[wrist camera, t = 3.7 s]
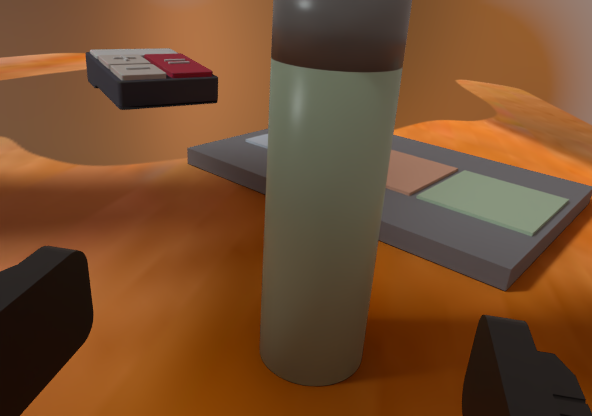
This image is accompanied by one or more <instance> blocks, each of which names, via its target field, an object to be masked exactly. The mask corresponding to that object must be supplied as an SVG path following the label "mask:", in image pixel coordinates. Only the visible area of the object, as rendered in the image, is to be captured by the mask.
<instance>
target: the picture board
mask: <svg viewBox="0 0 592 416" xmlns="http://www.w3.org/2000/svg"><path fill="white" fill-rule="evenodd" d="M187 150H188V164H191V165H193V166H196V167H198V168H201V169H203V170H205V171H208V172H210V173H213V174H215V175H218V176H220V177H223V178H225V179H228V180H230V181H233V182H235V183H238V184H240V185H243V186H245V187H248V188H250V189H253V190H255V191H258V192H260V193H263V194H265V195H266V175H267V150H268V129H265V130H261V131H257V132H253V133H248V134H244V135H240V136H236V137H231V138H227V139H223V140H219V141H215V142H210V143H206V144H202V145H198V146H194V147H190V148H188V149H187ZM591 196H592V186H588V185H584V184H580V183H576V182H573V181H569V180H565V179H561V178H557V177H553V176H550V175H546V174H542V173H538V172H534V171H530V170H526V169H523V168H519V167H515V166H511V165H507V164H503V163H500V162H496V161H492V160H488V159H484V158H480V157H477V156H473V155H469V154H465V153H461V152H457V151H454V150H450V149H446V148H442V147H438V146H434V145H431V144H427V143H423V142H419V141H415V140H411V139H407V138H404V137H400V136H396V135H393V139H392V146H391V153H390V161H389V168H388V175H387V182H386V189H385V196H384V203H383V211H382V218H381V225H380V232H379V239H378V240H380V241H382V242H385V243H387V244H389V245H392V246H394V247H397V248H399V249H402V250H404V251H407V252H409V253H412V254H414V255H417V256H419V257H422V258H424V259H427V260H429V261H432V262H434V263H437V264H439V265H442V266H444V267H447V268H449V269H452V270H454V271H457V272H459V273H462V274H464V275H467V276H469V277H472V278H474V279H477V280H479V281H482V282H484V283H486V284H489V285H491V286H494V287H496V288H499V289H501V290H504V291H506V290H507V289H508V288H509V287H510V286H511V285H512V284H513V283H514V282H515V281H516V280H517V279H518V277H519V276H520V275H521V274H522V273H523V272H524V271H525V270H526V269H527V268H528V267H529V266H530V265H531V264H532V263H533V262H534V261H535V260H536V259H537V257H538V256H539V255H540V254H541V253H542V252H543V251H544V250H545V249H546V248H547V247H548V246H549V245H550V244H551V243H552V242H553V241H554V240H555V239H556V237H557V236H558V235H559V234H560V233H561V232H562V231H563V230H564V229H565V228H566V227H567V226H568V225H569V224H570V223H571V222H572V221H573V220H574V219H575V217H576V216H577V215H578V214H579V213H580V212H581V211H582V210H583V209H584V208H585V207H586V206H587V205H588V204H589V202H590V199H591Z"/></svg>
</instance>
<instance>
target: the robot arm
mask: <svg viewBox="0 0 592 416" xmlns="http://www.w3.org/2000/svg"><path fill="white" fill-rule="evenodd" d="M92 323H93V305H92V297H91V288H90V280H89V271H88V263H87V259H86V256H85V254H84V253H83V252H81V251H78V250H71V249H65V248H58V247H52V246H43V247H41V248H40V249H38V250H37V251H35V252H34V253H33V254H31V255H30V256H29V257H27V258H26V259H25V260H23V261H22V262H20V263H19V264H18V265H15V266H13V267H10V268H8V269H5V270H3V271H1V272H0V416H20V415H21V414H22V413H23V411H24V410H25V409H26V408H27V407H28V406H29V405H30V404H31V402H32V401H33V400H34V399H35V398H36V397H37V396H38V394H39V393H40V392H41V391H42V390H43V389H44V388H45V387H46V385H47V384H48V383H49V382H50V381H51V380H52V379H53V378H54V376H55V375H56V374H57V373H58V372H59V371H60V370H61V368H62V367H63V366H64V365H65V364H66V363H67V362H68V361H69V359H70V358H71V357H72V356H73V355H74V354H75V353H76V351H77V350H78V349H79V348H80V347H81V346H82V345H83V343H84V342H85V341H86V339H87V337H88V335H89V333H90V331H91V327H92ZM585 400H586V399H585V397H584V395H583V392H582V390H581V388H580V385H579V383H578V381H577V378H576V376H575V375H574V374H573V373H572V372H571V371H570V370H569V369H568V368H567V367H566V366H565V364H564V363H563V362H562V361H561V360H560V359H559V358H558V357H557V356H556V355H555V354H552V353H546V352H540V351H537V350H536V347H535V344H534V341H533V338H532V336H531V333H530V330H529V327H528V325H527V323H526V322H525V321H521V320H514V319H508V318H501V317H495V316H488V315H482V316H481V318H480V320H479V323H478V327H477V331H476V335H475V339H474V343H473V347H472V351H471V355H470V359H469V363H468V367H467V371H466V375H465V379H464V385H463V394H462V414H463V416H592V413H591V411H590V408H589V406H588V404H585Z"/></svg>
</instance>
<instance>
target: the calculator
mask: <svg viewBox="0 0 592 416" xmlns="http://www.w3.org/2000/svg"><path fill="white" fill-rule="evenodd" d="M86 64H87V75H88V82H89V83H90V84H91V85H92V86H93V87H94V88H99V89H100V90H101V91H102V92H103V93H104V94H105V95H106V96H107V97H108V98H109V99H110V100H111V101H112V102H113V103H114V104H115V105H116V106H117V107H118V108H119V109H120V110H131V109H144V108H158V107H172V106H186V105H198V104H213V103H217V101H218V100H217V99H218V77H217V76H215V75H213V74H212V71H211V70H209V69H208V68H206V67H204V66H202V65H201V64H199V63H197V62H195V61H193V60H192V59H190V58H188V57H186V56H185V55H183V54H179V53H176V52H175V51H173V50H171V49H116V50H115V49H112V50H90V52H87V53H86Z"/></svg>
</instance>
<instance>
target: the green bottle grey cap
mask: <svg viewBox="0 0 592 416" xmlns="http://www.w3.org/2000/svg"><path fill="white" fill-rule="evenodd" d="M411 3H412V0H274V1H273V27H272V51H271V52H272V53H271V76H270V100H269V101H270V102H269V125H268V150H267V175H266V200H265V225H264V250H263V275H262V300H261V325H260V355H261V358H262V360H263V362H264V364H265V365H266V366H267V367H268V368H269V369H270V370H271V371H272V372H273V373H274V374H276V375H277V376H279V377H281V378H283V379H285V380H287V381H290V382H293V383H296V384H301V385H307V386H325V385H331V384H335V383H338V382H341V381H343V380H345V379H347V378H348V377H350V376H351V375H352V374H354V373H355V371H356V370H357V369H358V367H359V366H360V363H361V360H362V353H363V346H364V339H365V332H366V325H367V318H368V311H369V303H370V296H371V289H372V282H373V275H374V268H375V261H376V253H377V246H378V239H379V232H380V225H381V218H382V211H383V203H384V196H385V189H386V182H387V175H388V168H389V161H390V153H391V146H392V139H393V132H394V125H395V118H396V110H397V103H398V96H399V89H400V82H401V75H402V67H403V61H404V53H405V45H406V39H407V32H408V24H409V18H410V10H411Z"/></svg>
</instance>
